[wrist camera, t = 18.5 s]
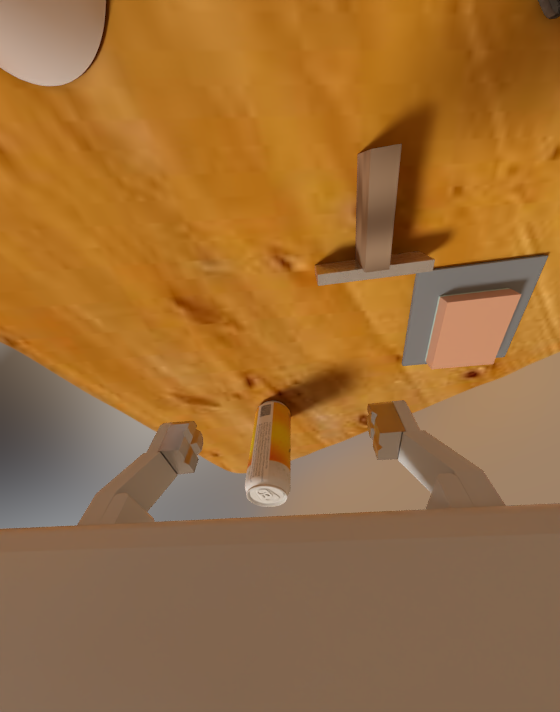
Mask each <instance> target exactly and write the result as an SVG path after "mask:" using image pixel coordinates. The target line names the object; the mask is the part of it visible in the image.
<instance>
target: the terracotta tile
mask: <svg viewBox="0 0 560 712" xmlns="http://www.w3.org/2000/svg"><path fill="white" fill-rule="evenodd" d="M520 297H521V294H520V293H518V292H516V291H514V290H512V289H510V288H503V289H494V290H486V291H477V292H469V293H460V294H452V295H443V296H439V298H438V303H437V307H436V312H435V316H434V321H433V326H432V330H431V335H430V339H429V344H428V349H427V353H426V358H425V361H426V363H427V364H428V365H429V367H430V368H431V369H440V368H451V367H462V366H474V365H485V364H493V363H494V360H495V358H496V355H497V353H498V351H499V348H500V346H501V343H502V341H503V338H504V336H505V333H506V331H507V328H508V326H509V324H510V321H511V319H512V316H513V314H514V311H515V309H516V306H517V304H518V301H519V299H520Z"/></svg>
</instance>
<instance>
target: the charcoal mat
mask: <svg viewBox="0 0 560 712" xmlns="http://www.w3.org/2000/svg"><path fill="white" fill-rule="evenodd" d="M547 257H548V256H547V255H539V256H531V257H523V258H516V259H508V260H500V261H492V262H484V263H476V264H469V265H461V266H453V267H445V268H437V269H433V271H430V272H423V273H416V277H415V284H414V290H413V296H412V303H411V309H410V315H409V322H408V328H407V334H406V341H405V347H404V353H403V360H402V365H403V366H407V365H419V364H427V363H426V361H425V358H426V353H427V349H428V344H429V339H430V335H431V330H432V326H433V321H434V316H435V312H436V307H437V303H438V298H439V296H443V295H452V294H460V293H469V292H477V291H486V290H494V289H503V288H510V289H512V290H514V291H516V292H518V293H520V294H521V297H520V299H519V301H518V304H517V306H516V309H515V311H514V314H513V316H512V319H511V321H510V324H509V326H508V328H507V331H506V333H505V336H504V338H503V341H502V343H501V346H500V348H499V351H498V353H497V355H496V358H497V357H505V355H506V352H507V350H508V348H509V345H510V343H511V341H512V338H513V336H514V334H515V331H516V329H517V327H518V325H519V322H520V320H521V318H522V315H523V313H524V311H525V308H526V306H527V304H528V301H529V299H530V297H531V294H532V292H533V290H534V288H535V285H536V283H537V281H538V278H539V276H540V274H541V271H542V269H543V267H544V264H545V262H546V260H547Z"/></svg>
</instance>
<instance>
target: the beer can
mask: <svg viewBox="0 0 560 712" xmlns="http://www.w3.org/2000/svg"><path fill="white" fill-rule="evenodd" d="M245 489H246V493H247V498H248V500H249V501H250V502H252V503H254V504H256V505H259V506H265V507H273V506H278V505H281V504H283V503H284V502H285V501H286V500H287V496H288V494H289V492H290V411H289V409H288V408H287V407H286V406H285V405H284V404H283V403H281V402H278V401H267V402H265V403H263V404H262V405H260V406H259V407H258V408H257V410H256V415H255V422H254V428H253V435H252V442H251V448H250V455H249V462H248V468H247V475H246V482H245Z"/></svg>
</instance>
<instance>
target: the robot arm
mask: <svg viewBox="0 0 560 712" xmlns="http://www.w3.org/2000/svg"><path fill="white" fill-rule="evenodd" d="M105 11H106V0H0V68H2V69H3V70H5V71H6V72H8V73H10V74H12V75H13V76H15V77H17V78H19V79H22V80H24V81H27V82H30V83H33V84H37V85H43V86H58V85H63V84H66V83H69V82H71V81H73V80H75V79H76V78H78V77H79V76H80V75H82V74H83V73H84V72H85V71H86V69H87V68H88V67H89V65H90V64H91V62H92V61H93V59H94V57H95V55H96V53H97V50H98V48H99V45H100V42H101V38H102V34H103V29H104V22H105ZM367 410H368V413H369V415H368V416H367V426H368V431H369V435H370V438H372V439H373V448H374V451H375V454H376V457H377V460H386V459H398V461H399V462H400V463H401V464H402V465H404V466H405V467H406V468H407V469H408V470H409V471H410V472H411V473H412V474H413V475H414V476H415V477H416V478H417V479H418V480H419V481H420V482H421V483H422V484H423V485H424V486H425V487H426V488H427V489H428V490H429V491H430V492H431V496H430V499H429V501H428V504H427V507H426V509H425V510H404V511H382V512H363V513H362V512H360V513H338V514H316V515H296V516H295V515H294V516H272V517H251V518H229V519H207V520H186V521H164V522H154V518H153V517H152V516H151V515H149V514H148V513H147V512H148V510H149V509H150V508H151V507H152V505H153V504H154V503H155V502H156V501H157V499H158V498H159V497H160V496H161V495H162V493H163V492H164V491H165V490H166V489H167V487H168V486H169V485H170V484H171V483H172V481H173V480H174V479H175V478H176V476H177V474H185V473H194V472H195V469H196V466H197V463H198V457H197V455H198V454H199V453H200V452H201V450H202V446H203V437H202V434H201V432H200V431H199V430H197V429H196V427H197V425H196V423H195V422H194V421H185V422H172V423H163V424H162V425H161V426H160V427H159V429H158V431H157V433H156V435H155V437H154V439H153V441H152V443H151V445H150V447H149V449H148V451H147V453H144V454H142V455H141V456H140V457H139V458H137V459H136V460H135V461H134V462H133V463H132V464H131V465H129V466H128V467H127V468H126V469H124V470H123V471H122V472H121V473H120V474H119V475H117V476H116V477H115V478H114V479H113V480H112V481H111V482H109V483H108V484H107V485H106V486H105V487H104V488H102V489H101V490H100V491H99V492H98V493H97V494H96V495H95V497H94V498H93V500H92V502H91V503H90V505H89V506H88V508H87V510H86V511H85V513H84V515H83V516H82V518H81V520H80V521H79V523H78V525H77V526H55V527H32V528H9V529H0V712H560V503H558V504H557V503H555V504H534V505H511V506H506V505H505V504H504V502H503V501H502V499H501V498H500V496H499V494H498V493H497V492H496V490H495V488H494V487H493V485H492V484H491V482H490V481H489V479H488V478H487V476H486V475H485V473H484V471H483V470H482V469H480V468H479V467H477V466H476V465H474V464H473V463H471V462H470V461H468V460H467V459H465V458H464V457H463V456H461V455H459V454H458V453H457V452H455V451H454V450H452V449H451V448H449V447H448V446H446V445H445V444H443V443H442V442H441V441H439V440H437V439H436V438H435V437H433V436H432V435H430V434H428V433H427V432H426V431H421V430H420V428H419V427H418V425H417V423H416V421H415V419H414V417H413V415H412V413H411V411H410V409H409V407H408V405H407V404H406V402H405V401H404V400H402V401H392V402H381V403H372V404H368V407H367Z"/></svg>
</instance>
